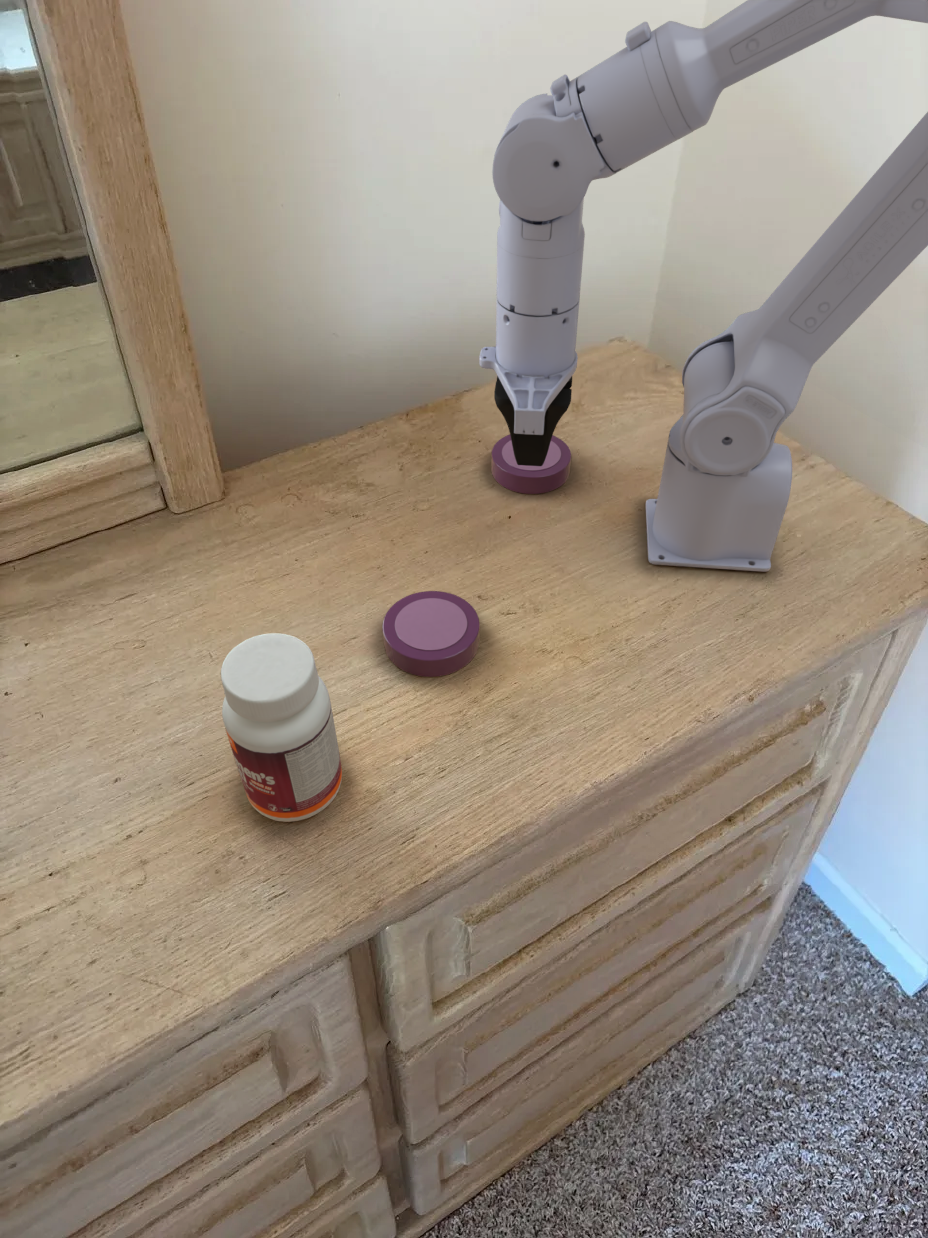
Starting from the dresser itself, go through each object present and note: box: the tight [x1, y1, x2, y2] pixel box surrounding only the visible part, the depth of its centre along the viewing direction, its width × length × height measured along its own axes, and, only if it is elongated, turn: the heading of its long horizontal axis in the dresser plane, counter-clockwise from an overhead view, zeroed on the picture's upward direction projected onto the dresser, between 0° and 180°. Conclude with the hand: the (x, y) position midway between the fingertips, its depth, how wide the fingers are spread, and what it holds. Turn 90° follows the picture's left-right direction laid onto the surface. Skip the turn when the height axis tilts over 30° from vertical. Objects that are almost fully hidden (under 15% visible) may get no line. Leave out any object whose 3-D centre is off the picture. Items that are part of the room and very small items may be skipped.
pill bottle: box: [220, 632, 343, 823], centre depth 53 cm, size 6×6×11 cm
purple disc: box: [381, 590, 481, 678], centre depth 65 cm, size 7×7×2 cm
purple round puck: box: [490, 433, 572, 495], centre depth 80 cm, size 7×7×2 cm
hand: (530, 460), depth 72 cm, fingers closed
